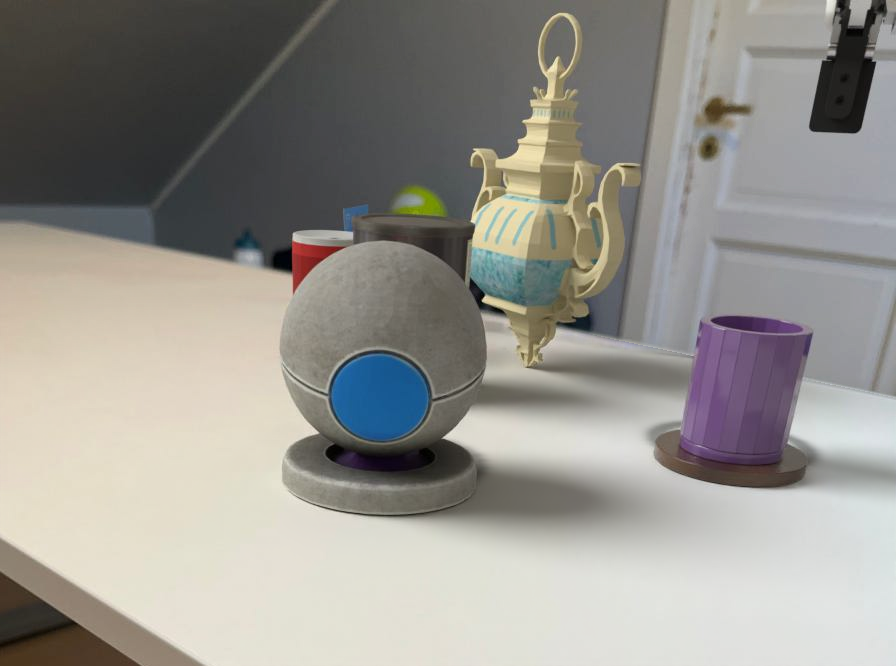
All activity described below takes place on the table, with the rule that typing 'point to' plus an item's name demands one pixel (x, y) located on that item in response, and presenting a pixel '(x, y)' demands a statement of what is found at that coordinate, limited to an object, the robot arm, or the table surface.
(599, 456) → the table surface
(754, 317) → the cup
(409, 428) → the webcam
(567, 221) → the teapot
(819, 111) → the robot arm
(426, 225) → the coffee can
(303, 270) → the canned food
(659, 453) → the coaster
